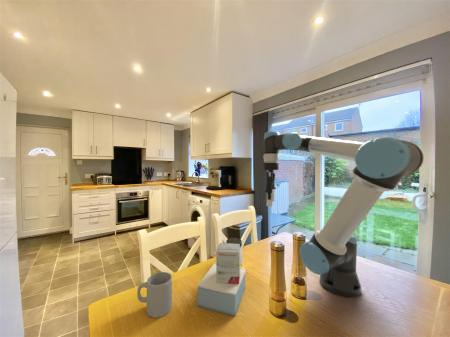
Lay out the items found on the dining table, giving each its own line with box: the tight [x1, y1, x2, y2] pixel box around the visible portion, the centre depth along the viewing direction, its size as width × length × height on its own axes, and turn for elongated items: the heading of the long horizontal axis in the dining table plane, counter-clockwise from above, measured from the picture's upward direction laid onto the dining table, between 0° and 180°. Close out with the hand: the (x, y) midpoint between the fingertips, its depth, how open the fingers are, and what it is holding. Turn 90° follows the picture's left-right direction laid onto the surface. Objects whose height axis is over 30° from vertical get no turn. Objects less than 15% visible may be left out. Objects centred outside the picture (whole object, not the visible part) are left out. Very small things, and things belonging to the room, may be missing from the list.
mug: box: [136, 271, 173, 319], centre depth 68 cm, size 12×8×11 cm
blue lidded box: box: [197, 273, 246, 317], centre depth 75 cm, size 14×16×7 cm
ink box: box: [215, 242, 241, 284], centre depth 75 cm, size 9×9×12 cm
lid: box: [197, 263, 247, 296], centre depth 75 cm, size 14×16×1 cm
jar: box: [225, 237, 243, 266], centre depth 101 cm, size 9×8×12 cm
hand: (270, 203), depth 99 cm, fingers open, 13 cm apart
